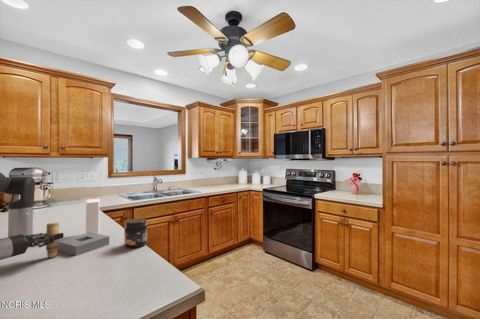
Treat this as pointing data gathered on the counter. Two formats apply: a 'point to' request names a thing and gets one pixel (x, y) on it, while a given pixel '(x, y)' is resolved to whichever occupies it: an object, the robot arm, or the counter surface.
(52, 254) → the peg
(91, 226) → the white tall block
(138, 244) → the supplement container
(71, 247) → the board
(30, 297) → the counter surface
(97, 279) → the counter surface
